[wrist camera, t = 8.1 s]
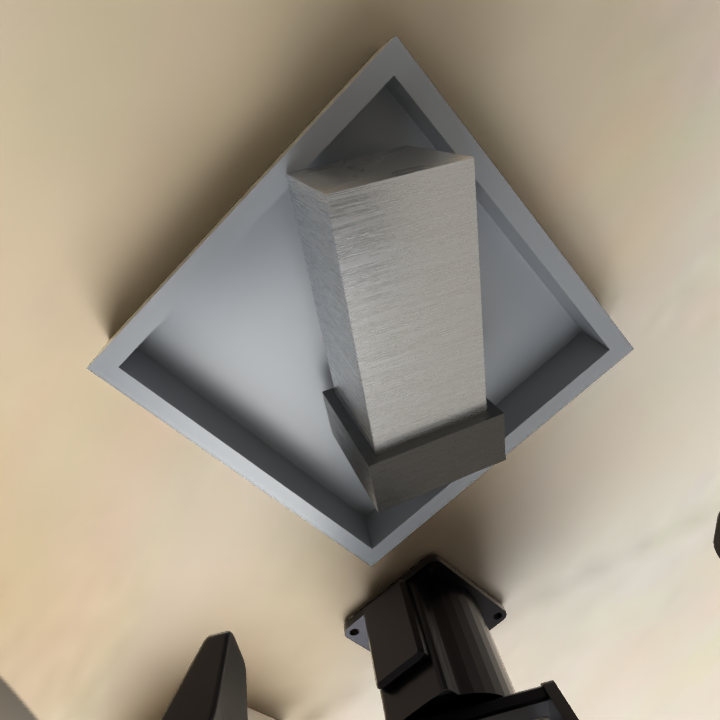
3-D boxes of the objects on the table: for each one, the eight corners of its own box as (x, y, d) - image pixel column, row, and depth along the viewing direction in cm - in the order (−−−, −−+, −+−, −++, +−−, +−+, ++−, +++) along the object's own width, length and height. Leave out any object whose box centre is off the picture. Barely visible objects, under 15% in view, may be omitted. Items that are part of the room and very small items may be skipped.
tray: (597, 326, 22) (633, 348, 20) (362, 526, 25) (371, 566, 23) (379, 47, 17) (395, 35, 15) (108, 340, 19) (86, 368, 17)
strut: (505, 459, 18) (496, 154, 13) (378, 512, 17) (314, 201, 12) (438, 393, 22) (411, 141, 17) (331, 432, 21) (270, 175, 16)
